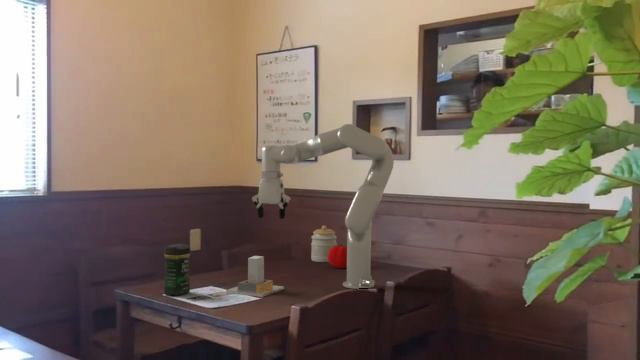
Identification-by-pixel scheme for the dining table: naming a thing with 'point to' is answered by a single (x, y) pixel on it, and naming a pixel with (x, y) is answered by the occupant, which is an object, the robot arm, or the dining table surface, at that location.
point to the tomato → (338, 256)
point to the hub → (255, 288)
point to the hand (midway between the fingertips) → (271, 218)
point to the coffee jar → (177, 269)
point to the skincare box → (256, 270)
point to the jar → (322, 244)
